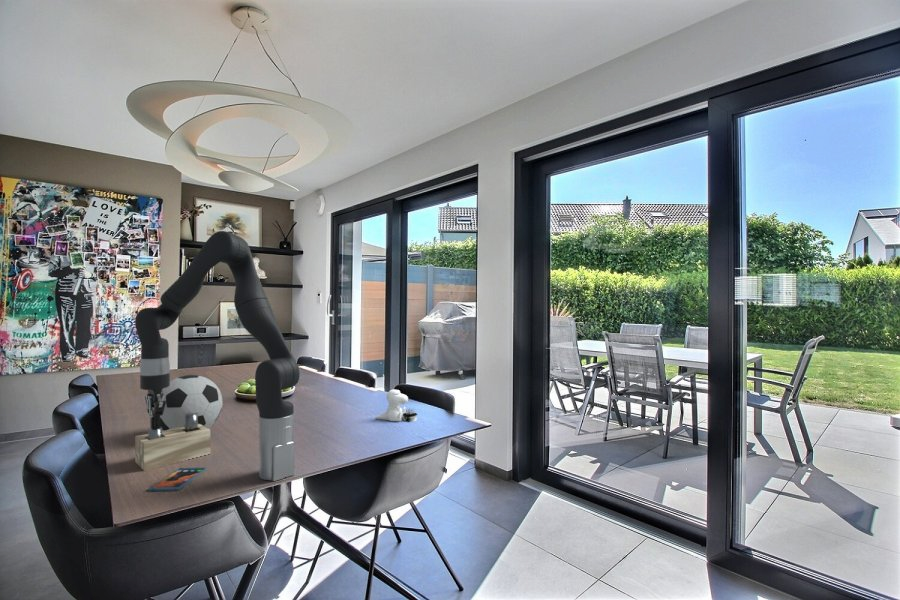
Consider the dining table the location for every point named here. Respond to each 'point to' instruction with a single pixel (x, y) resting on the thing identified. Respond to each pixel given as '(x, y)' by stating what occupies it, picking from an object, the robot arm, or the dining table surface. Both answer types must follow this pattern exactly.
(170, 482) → the smartphone
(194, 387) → the soccer ball
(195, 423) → the inner peg
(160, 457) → the birch block
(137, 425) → the dining table surface
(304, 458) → the dining table surface
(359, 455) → the dining table surface
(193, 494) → the dining table surface
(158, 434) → the outer peg
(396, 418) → the figurine
